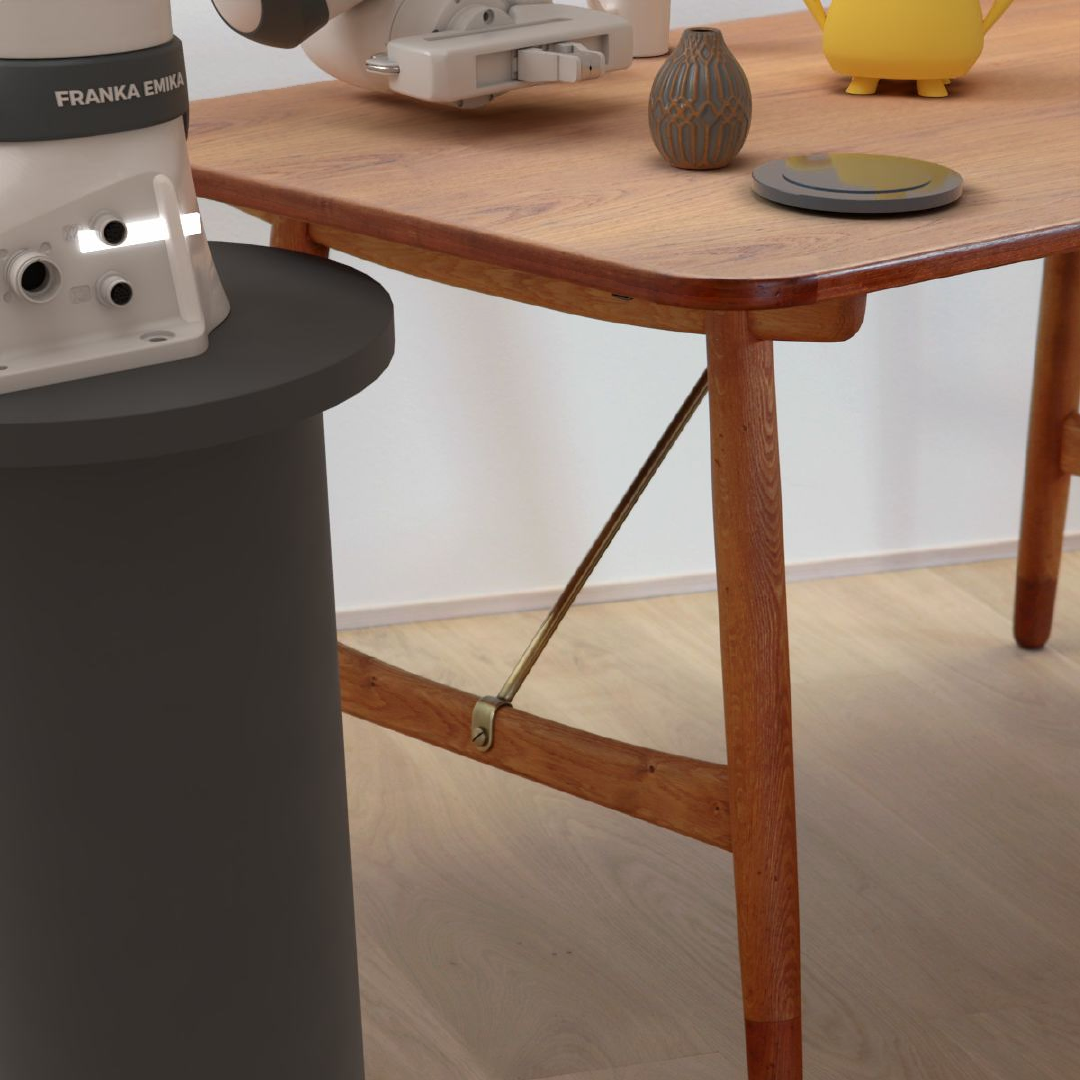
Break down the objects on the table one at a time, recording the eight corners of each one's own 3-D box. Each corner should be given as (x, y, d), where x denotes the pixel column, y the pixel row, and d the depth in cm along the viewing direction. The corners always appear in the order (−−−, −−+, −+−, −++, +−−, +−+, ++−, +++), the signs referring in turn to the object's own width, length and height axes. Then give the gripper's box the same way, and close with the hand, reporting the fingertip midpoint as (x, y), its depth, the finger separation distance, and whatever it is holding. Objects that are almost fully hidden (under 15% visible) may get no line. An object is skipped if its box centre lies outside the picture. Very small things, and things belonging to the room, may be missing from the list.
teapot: (1026, 90, 141) (1043, -63, 136) (895, 108, 134) (908, -52, 129) (907, 66, 152) (919, -77, 147) (780, 82, 145) (788, -67, 140)
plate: (880, 231, 100) (881, 209, 100) (708, 195, 109) (709, 174, 108) (1002, 193, 109) (1004, 172, 108) (834, 162, 117) (835, 143, 116)
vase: (655, 176, 114) (658, 38, 110) (640, 154, 120) (642, 23, 116) (759, 173, 114) (765, 36, 111) (738, 151, 120) (744, 20, 117)
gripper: (349, 18, 123) (480, 39, 114) (553, -10, 136) (686, 6, 127) (353, 108, 125) (483, 135, 116) (554, 72, 138) (684, 94, 129)
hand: (591, 68), depth 122 cm, fingers closed
